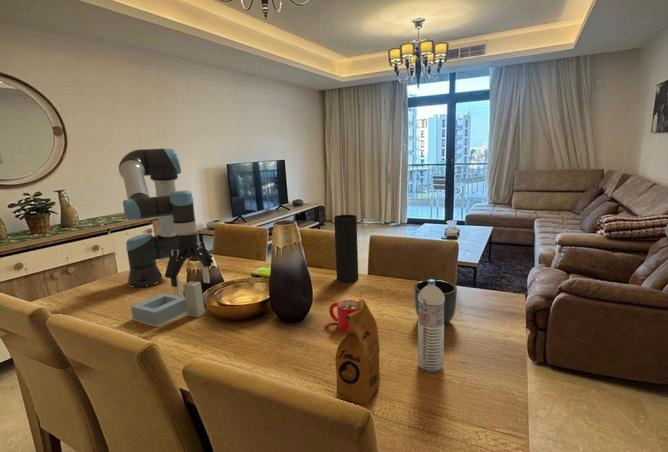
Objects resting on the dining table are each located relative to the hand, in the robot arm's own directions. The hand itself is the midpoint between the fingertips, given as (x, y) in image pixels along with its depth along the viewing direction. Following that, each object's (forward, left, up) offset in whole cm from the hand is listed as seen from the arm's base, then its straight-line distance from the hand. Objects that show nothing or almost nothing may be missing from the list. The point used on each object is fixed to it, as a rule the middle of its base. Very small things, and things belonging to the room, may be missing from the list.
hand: (192, 288), depth 139 cm
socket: (+6, -12, -11) cm, 17 cm away
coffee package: (+15, +75, -11) cm, 77 cm away
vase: (-57, +37, -11) cm, 69 cm away
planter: (-29, +84, -11) cm, 89 cm away
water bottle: (-2, +89, -11) cm, 89 cm away
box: (0, 0, -11) cm, 11 cm away
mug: (-15, +56, -11) cm, 59 cm away
